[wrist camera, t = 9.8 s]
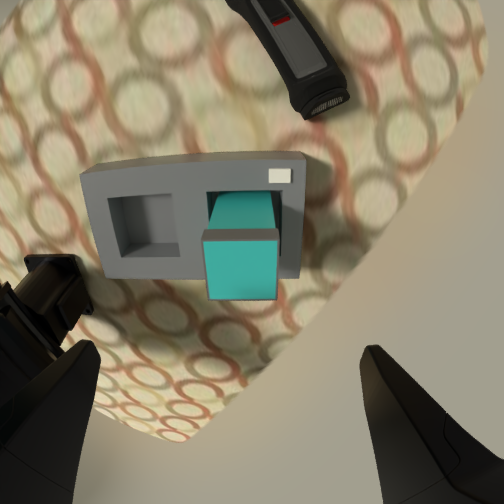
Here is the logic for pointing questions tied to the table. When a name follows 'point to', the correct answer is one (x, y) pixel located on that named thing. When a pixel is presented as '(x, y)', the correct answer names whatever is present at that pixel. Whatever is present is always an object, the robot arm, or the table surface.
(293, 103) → the electric trimmer
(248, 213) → the plug
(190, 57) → the table surface
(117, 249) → the grey flat block
